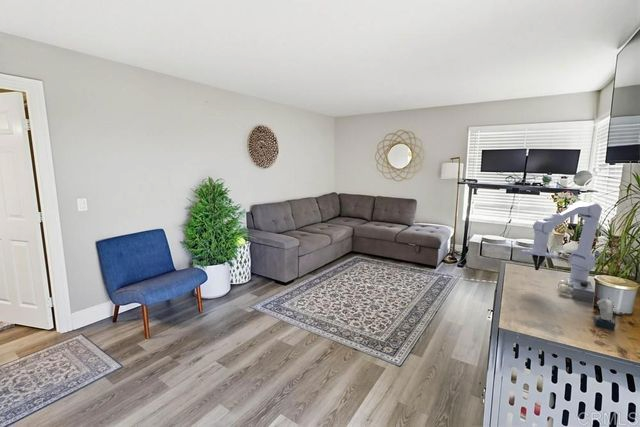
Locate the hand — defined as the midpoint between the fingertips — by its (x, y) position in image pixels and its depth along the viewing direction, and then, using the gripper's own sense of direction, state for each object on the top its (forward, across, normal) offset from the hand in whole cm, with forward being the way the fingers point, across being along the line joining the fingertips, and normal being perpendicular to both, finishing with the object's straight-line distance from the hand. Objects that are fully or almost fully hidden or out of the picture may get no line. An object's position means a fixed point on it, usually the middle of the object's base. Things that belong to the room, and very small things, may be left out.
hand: (536, 269), depth 159 cm
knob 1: (+8, +16, -2) cm, 18 cm away
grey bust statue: (+10, +23, -30) cm, 39 cm away
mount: (+9, +19, +2) cm, 21 cm away
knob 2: (+8, +16, +5) cm, 19 cm away
